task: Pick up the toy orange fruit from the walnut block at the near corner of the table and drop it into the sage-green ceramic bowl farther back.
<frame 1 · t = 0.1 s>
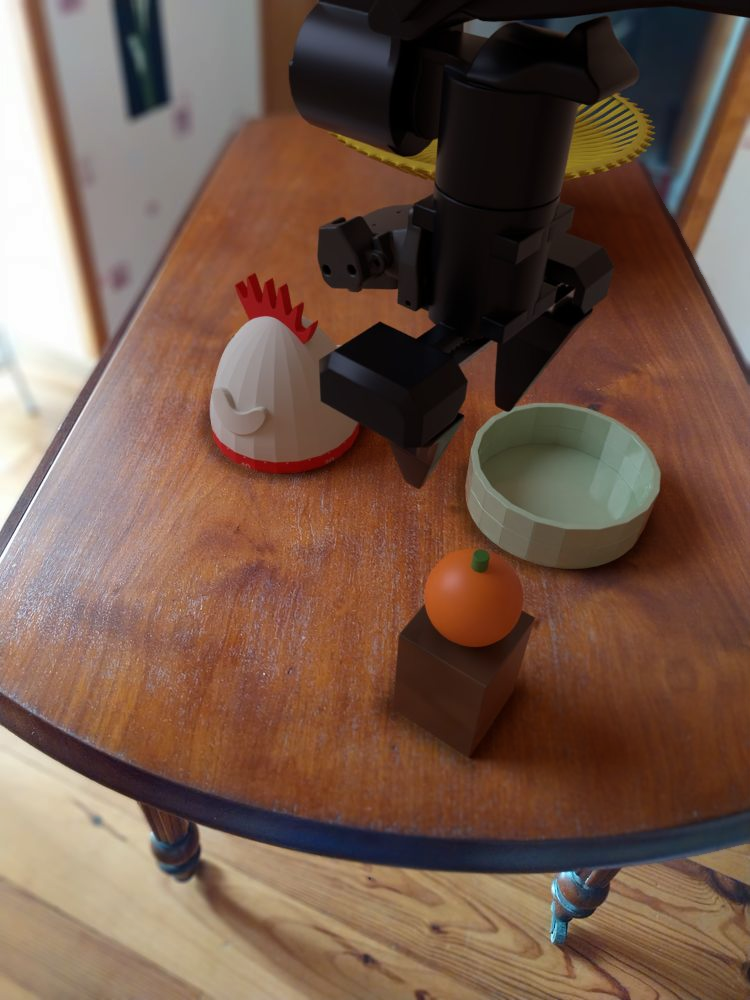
hand: (461, 444, 45), 16 cm above the table, tool pointing down, fingers open, 9 cm apart
bowl: (552, 503, 65), on the table
white chicken figurine: (286, 427, 71), on the table
yellow pedestal fruit stand: (469, 231, 101), on the table
toy orange fruit: (467, 625, 45), point 9 cm above the table, touching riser
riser: (452, 702, 51), on the table
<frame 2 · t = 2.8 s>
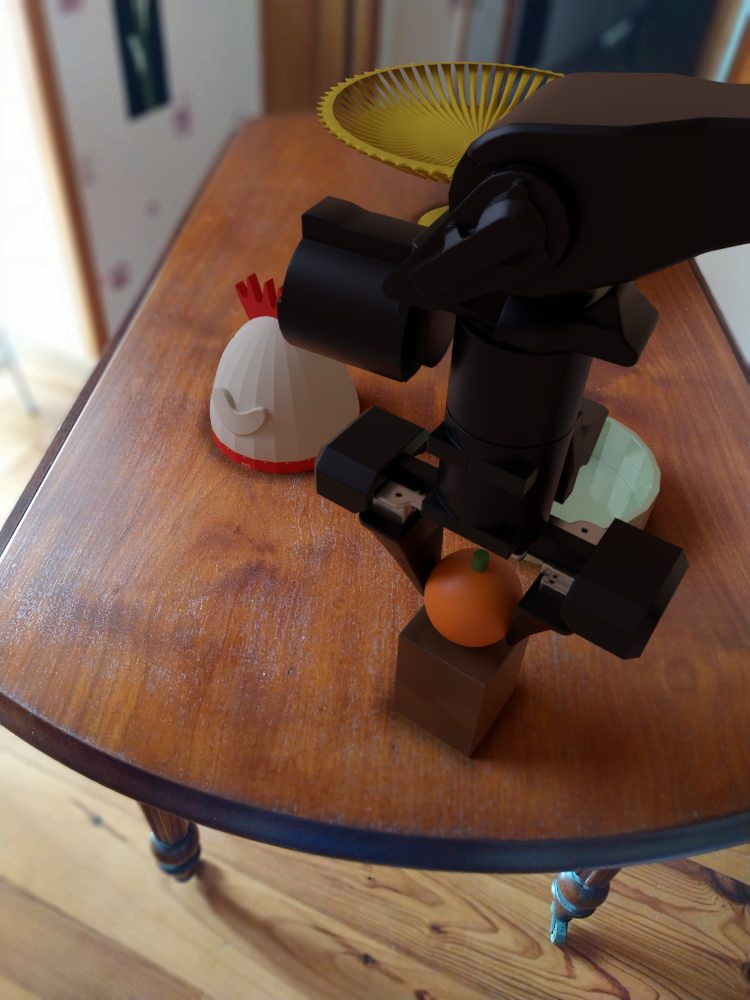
hand: (470, 615, 44), 10 cm above the table, tool pointing down, fingers closed on toy orange fruit, 5 cm apart
toy orange fruit: (467, 625, 45), point 9 cm above the table, touching gripper, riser
everything else where it was.
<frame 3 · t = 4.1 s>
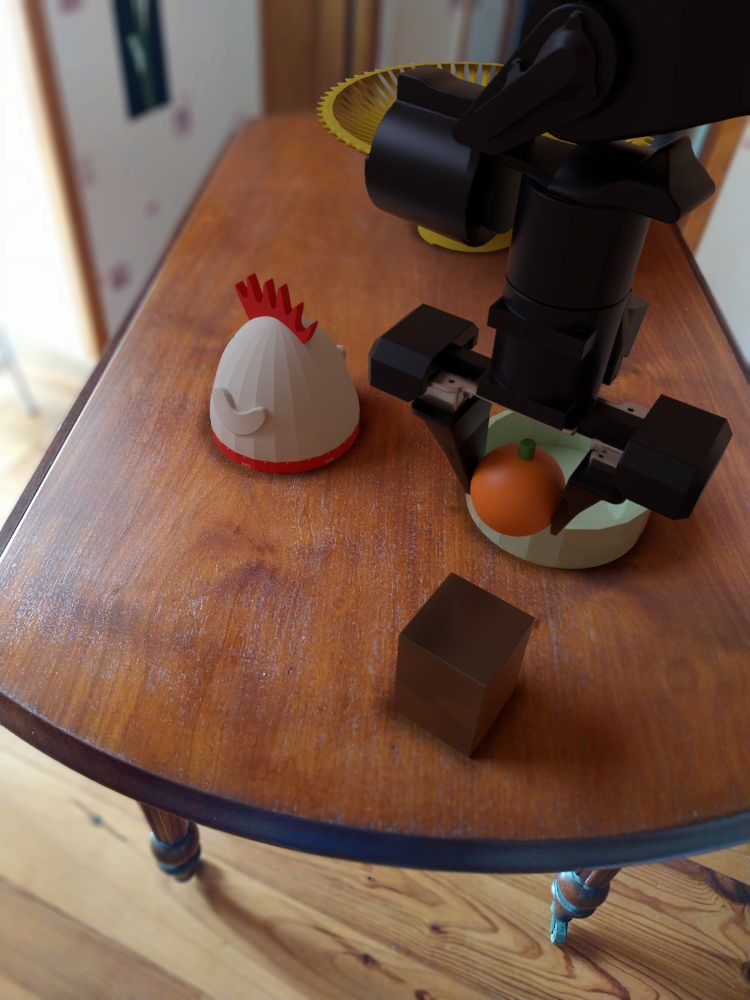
hand: (513, 510, 46), 13 cm above the table, tool pointing down, fingers closed on toy orange fruit, 5 cm apart
toy orange fruit: (510, 521, 47), point 12 cm above the table, touching gripper
everything else where it was.
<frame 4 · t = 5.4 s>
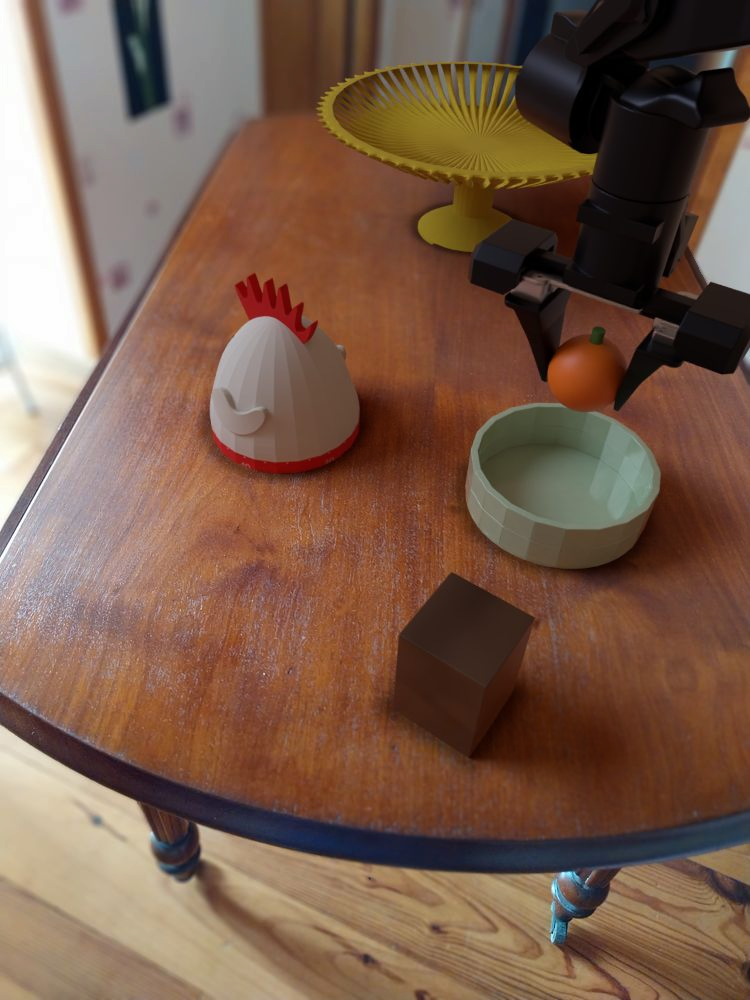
hand: (582, 393, 56), 12 cm above the table, tool pointing down, fingers closed on toy orange fruit, 5 cm apart
toy orange fruit: (578, 404, 56), point 11 cm above the table, touching gripper
everything else where it was.
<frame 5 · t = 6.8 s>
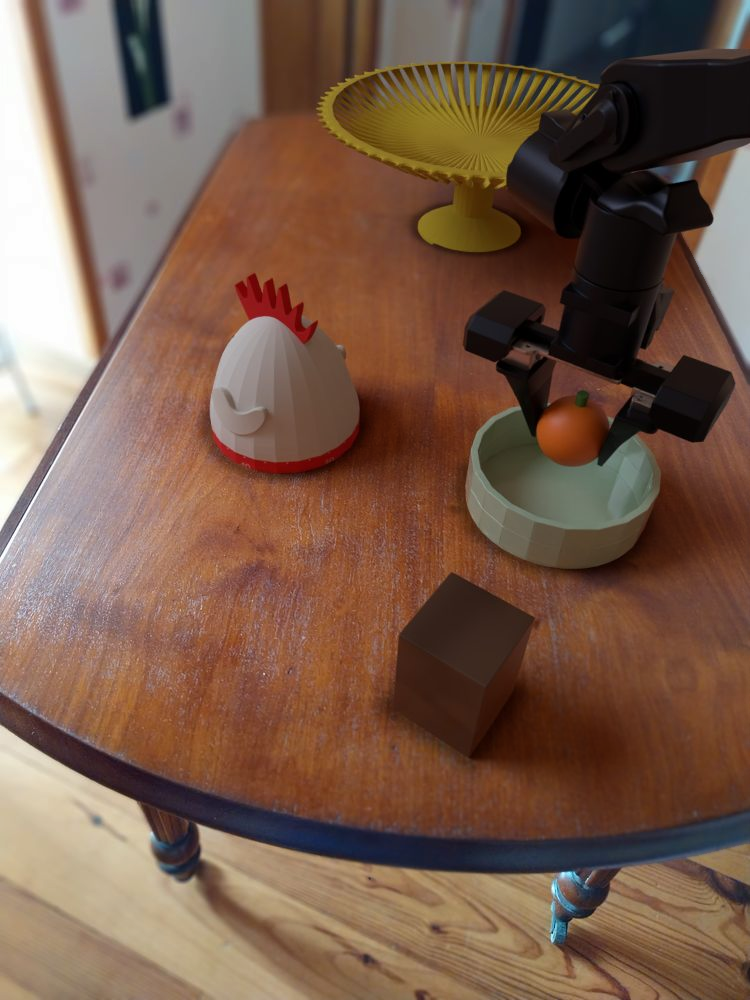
hand: (568, 448, 60), 6 cm above the table, tool pointing down, fingers closed on toy orange fruit, 5 cm apart
toy orange fruit: (565, 457, 61), point 5 cm above the table, touching gripper
everything else where it was.
when the fingers open (3 cm above the table, at t = 8.1 s): toy orange fruit drops 2 cm, resting on bowl.
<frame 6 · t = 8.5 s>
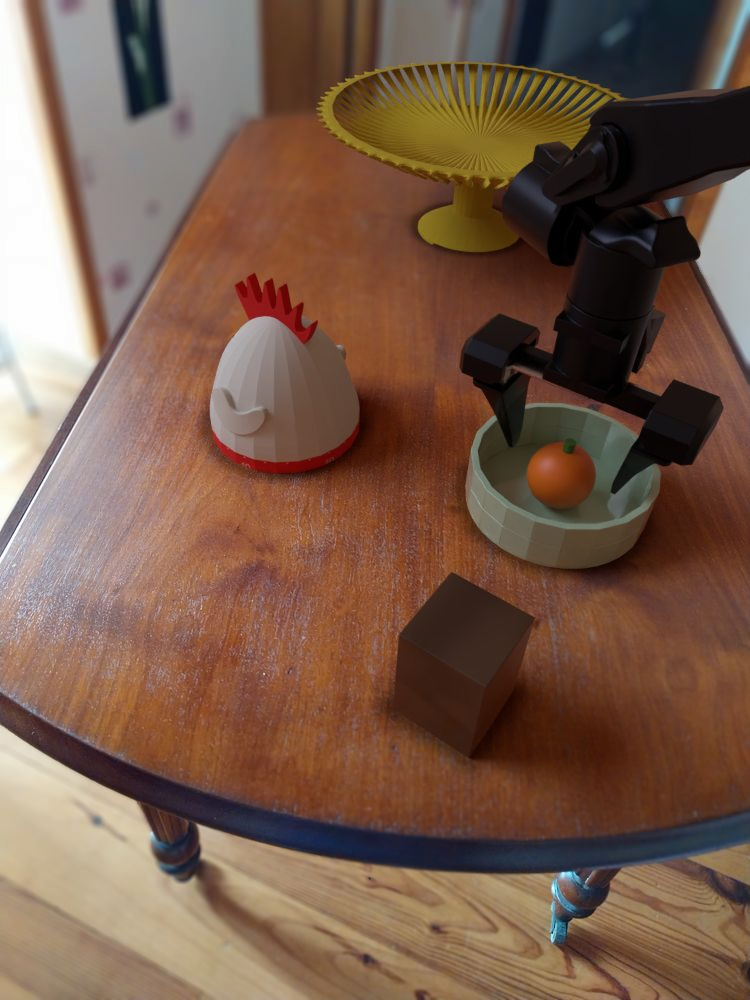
hand: (562, 466, 62), 4 cm above the table, tool pointing down, fingers open, 9 cm apart
toy orange fruit: (554, 498, 64), point 1 cm above the table, touching bowl
everything else where it was.
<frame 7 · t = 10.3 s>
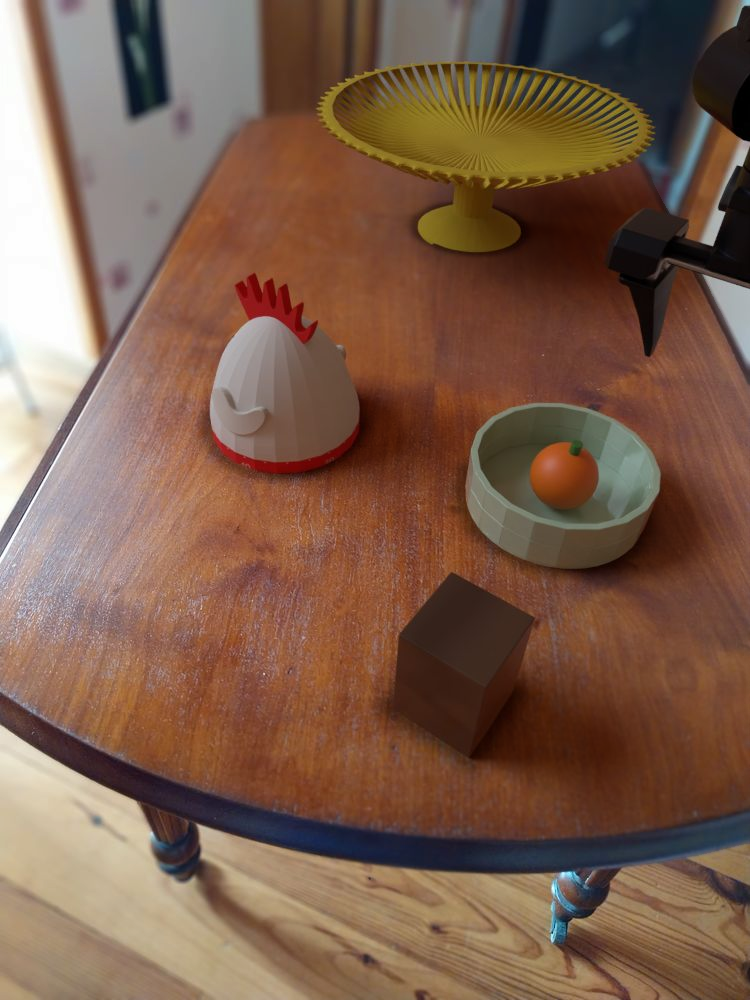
hand: (706, 375, 58), 12 cm above the table, tool pointing down, fingers open, 9 cm apart
toy orange fruit: (554, 498, 64), point 1 cm above the table, tilted 5°, touching bowl
everything else where it was.
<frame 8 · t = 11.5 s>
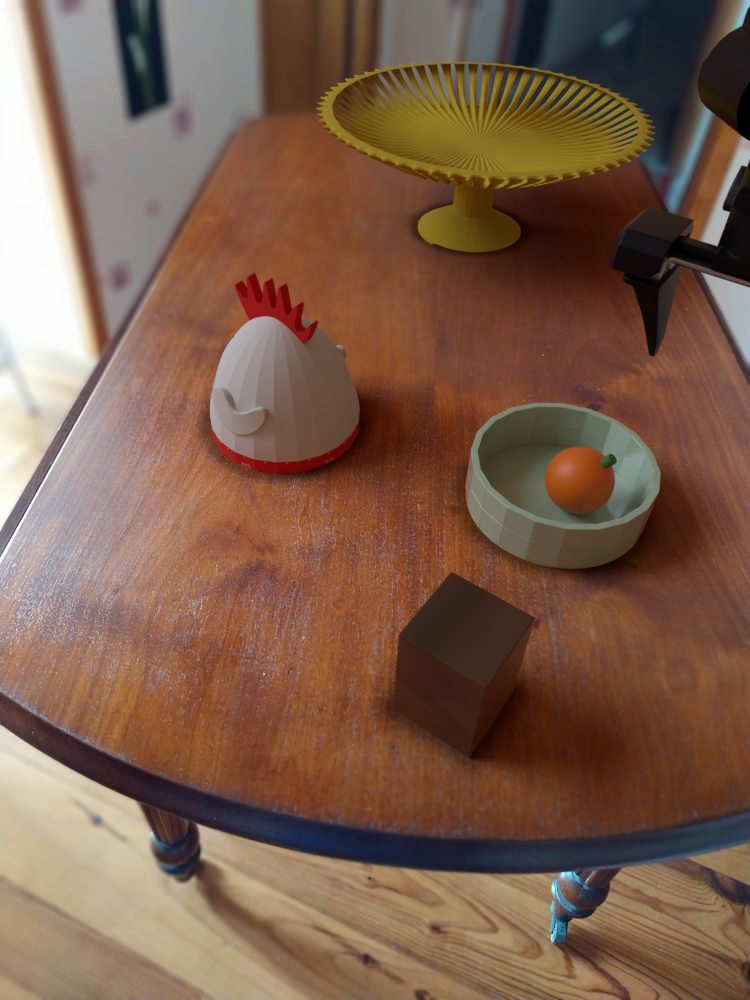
hand: (710, 375, 58), 12 cm above the table, tool pointing down, fingers open, 9 cm apart
toy orange fruit: (556, 495, 64), point 1 cm above the table, tilted 32°, touching bowl
everything else where it was.
at the end: toy orange fruit inside the target area in the bowl (0.2 cm from its centre), point 1.4 cm above the bowl's base; the gripper is holding nothing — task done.
